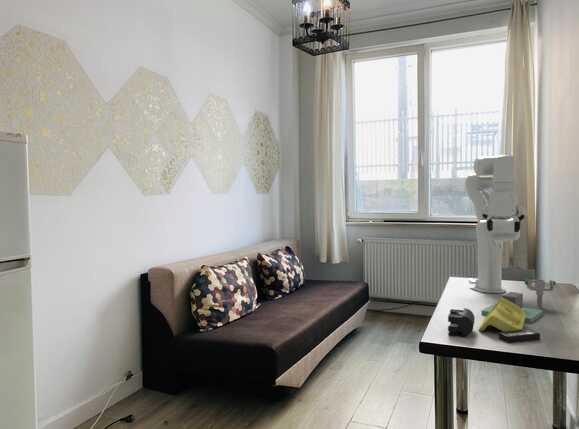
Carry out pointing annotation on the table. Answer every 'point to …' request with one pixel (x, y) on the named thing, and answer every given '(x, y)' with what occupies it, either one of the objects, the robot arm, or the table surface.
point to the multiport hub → (519, 336)
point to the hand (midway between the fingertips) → (503, 231)
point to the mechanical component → (539, 288)
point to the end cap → (460, 322)
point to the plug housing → (515, 298)
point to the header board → (530, 313)
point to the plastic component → (504, 317)
